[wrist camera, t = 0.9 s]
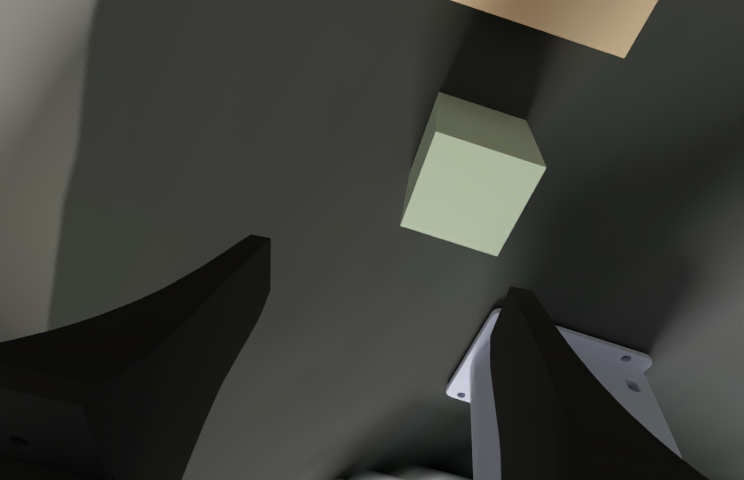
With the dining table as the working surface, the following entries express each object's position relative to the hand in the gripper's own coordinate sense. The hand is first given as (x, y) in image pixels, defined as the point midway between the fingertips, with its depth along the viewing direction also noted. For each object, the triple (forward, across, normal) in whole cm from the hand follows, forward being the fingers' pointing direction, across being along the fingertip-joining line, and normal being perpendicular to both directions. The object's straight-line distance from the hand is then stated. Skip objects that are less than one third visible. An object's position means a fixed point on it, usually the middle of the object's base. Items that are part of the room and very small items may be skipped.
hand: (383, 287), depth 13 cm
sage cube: (+10, -2, -1) cm, 10 cm away
